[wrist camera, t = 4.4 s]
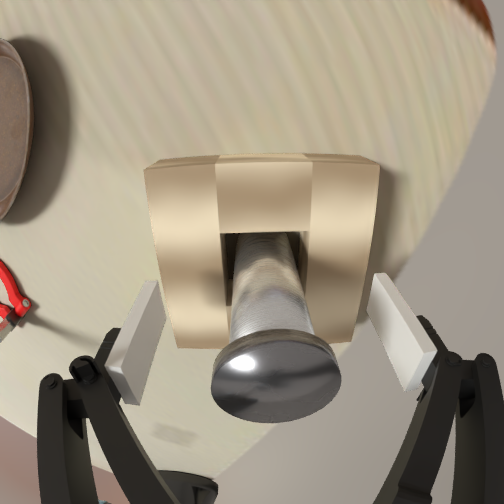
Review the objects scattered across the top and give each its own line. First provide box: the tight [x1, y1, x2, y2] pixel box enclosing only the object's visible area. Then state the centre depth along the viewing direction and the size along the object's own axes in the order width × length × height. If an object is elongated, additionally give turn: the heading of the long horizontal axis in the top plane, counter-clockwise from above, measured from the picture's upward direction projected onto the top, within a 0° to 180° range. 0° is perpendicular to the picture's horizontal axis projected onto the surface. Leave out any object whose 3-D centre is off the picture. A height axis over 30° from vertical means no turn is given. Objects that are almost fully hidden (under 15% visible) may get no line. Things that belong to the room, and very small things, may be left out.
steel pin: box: [211, 231, 341, 423], centre depth 17 cm, size 5×5×13 cm
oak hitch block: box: [144, 153, 380, 349], centre depth 21 cm, size 14×14×4 cm
